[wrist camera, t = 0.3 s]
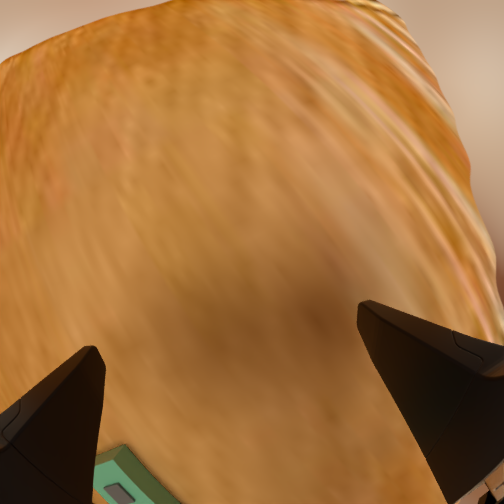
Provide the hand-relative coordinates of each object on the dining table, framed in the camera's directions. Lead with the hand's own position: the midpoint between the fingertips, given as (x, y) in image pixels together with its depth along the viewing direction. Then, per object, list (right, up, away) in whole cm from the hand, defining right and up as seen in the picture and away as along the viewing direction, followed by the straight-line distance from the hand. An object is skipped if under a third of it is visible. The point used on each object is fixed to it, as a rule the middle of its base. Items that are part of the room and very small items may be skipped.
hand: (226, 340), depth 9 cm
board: (-10, -21, +12) cm, 26 cm away
